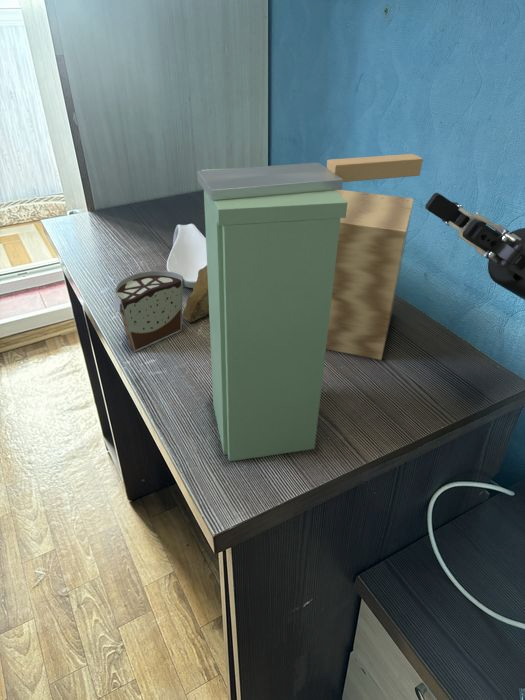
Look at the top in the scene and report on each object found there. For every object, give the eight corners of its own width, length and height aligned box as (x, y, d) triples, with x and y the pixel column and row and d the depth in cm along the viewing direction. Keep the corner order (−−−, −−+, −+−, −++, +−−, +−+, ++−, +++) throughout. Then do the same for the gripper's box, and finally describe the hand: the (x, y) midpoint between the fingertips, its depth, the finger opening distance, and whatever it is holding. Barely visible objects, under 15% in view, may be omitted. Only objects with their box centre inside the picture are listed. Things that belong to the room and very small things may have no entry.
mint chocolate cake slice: (167, 313, 92) (162, 262, 86) (189, 327, 88) (185, 274, 83) (105, 340, 85) (95, 285, 79) (126, 356, 81) (117, 300, 75)
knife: (400, 165, 58) (403, 148, 57) (430, 181, 53) (434, 163, 52) (197, 181, 52) (196, 162, 50) (211, 201, 47) (211, 181, 46)
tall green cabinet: (293, 389, 75) (310, 165, 57) (318, 448, 66) (347, 202, 47) (212, 399, 73) (201, 169, 55) (225, 462, 64) (218, 209, 45)
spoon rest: (235, 292, 99) (234, 258, 94) (173, 300, 96) (170, 265, 91) (208, 243, 117) (206, 212, 113) (155, 248, 114) (152, 217, 110)
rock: (187, 322, 85) (243, 304, 88) (170, 272, 85) (227, 256, 87) (181, 327, 96) (231, 311, 98) (166, 283, 96) (217, 268, 98)
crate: (391, 316, 93) (414, 198, 80) (381, 360, 82) (406, 231, 69) (304, 301, 97) (313, 186, 84) (284, 341, 86) (291, 215, 73)
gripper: (522, 223, 69) (439, 164, 61) (601, 270, 57) (510, 205, 50) (484, 269, 72) (400, 219, 65) (551, 323, 60) (459, 269, 53)
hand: (449, 213), depth 57 cm, fingers open, 8 cm apart
